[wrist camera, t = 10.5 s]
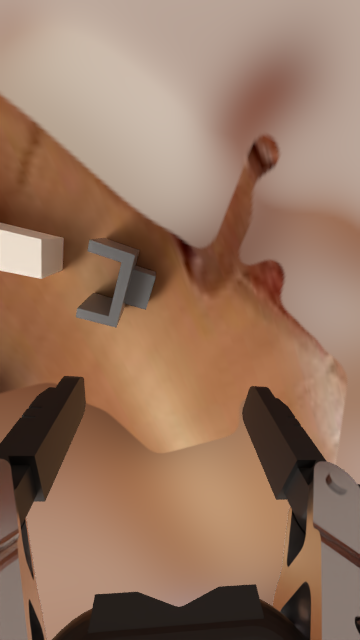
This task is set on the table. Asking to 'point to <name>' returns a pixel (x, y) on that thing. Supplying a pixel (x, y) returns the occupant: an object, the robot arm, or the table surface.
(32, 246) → the white rectangular block
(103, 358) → the table surface
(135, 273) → the cap
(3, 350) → the table surface
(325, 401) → the table surface
